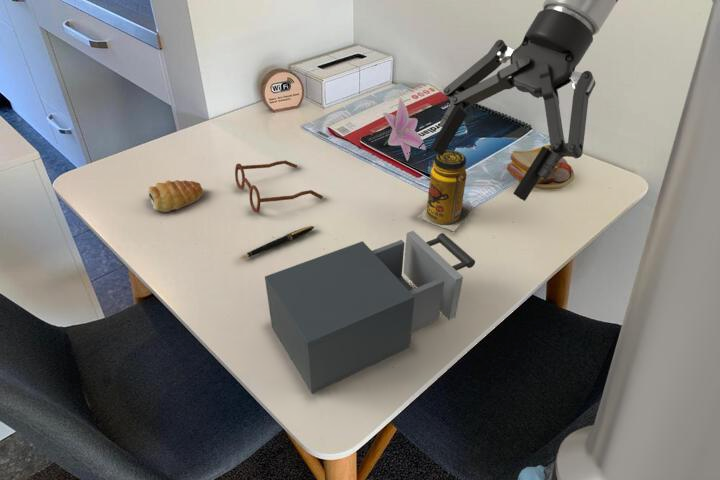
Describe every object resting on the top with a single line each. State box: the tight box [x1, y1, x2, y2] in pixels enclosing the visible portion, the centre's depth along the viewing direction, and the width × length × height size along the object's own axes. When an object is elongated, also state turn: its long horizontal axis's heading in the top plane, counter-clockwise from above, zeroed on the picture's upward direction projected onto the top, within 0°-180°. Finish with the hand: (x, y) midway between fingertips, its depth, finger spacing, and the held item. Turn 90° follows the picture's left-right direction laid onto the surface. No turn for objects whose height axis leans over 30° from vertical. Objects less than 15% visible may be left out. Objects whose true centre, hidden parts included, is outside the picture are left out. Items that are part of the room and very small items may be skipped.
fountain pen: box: [240, 225, 315, 259], centre depth 86 cm, size 14×1×2 cm, turn 127°
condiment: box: [417, 149, 475, 232], centre depth 90 cm, size 7×8×12 cm
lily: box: [383, 97, 426, 162], centre depth 110 cm, size 12×12×10 cm
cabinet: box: [264, 240, 415, 395], centre depth 68 cm, size 15×13×10 cm
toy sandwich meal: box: [506, 144, 575, 191], centre depth 103 cm, size 12×14×5 cm
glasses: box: [234, 160, 324, 213], centre depth 98 cm, size 13×13×5 cm
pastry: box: [147, 179, 204, 213], centre depth 95 cm, size 9×7×4 cm
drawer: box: [371, 230, 476, 333], centre depth 73 cm, size 18×11×8 cm, turn 120°
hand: (475, 173), depth 68 cm, fingers open, 13 cm apart
